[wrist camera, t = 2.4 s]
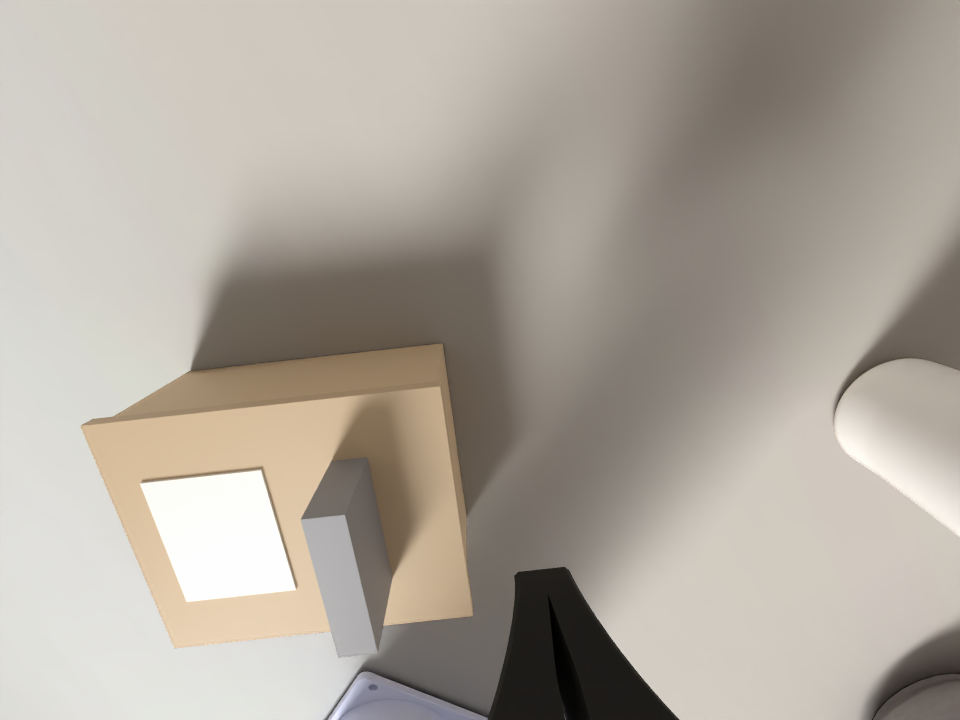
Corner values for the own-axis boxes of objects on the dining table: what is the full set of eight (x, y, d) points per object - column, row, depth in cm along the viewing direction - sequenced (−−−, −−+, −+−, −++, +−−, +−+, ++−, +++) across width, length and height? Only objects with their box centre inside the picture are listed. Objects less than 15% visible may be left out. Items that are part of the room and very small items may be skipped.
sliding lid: (440, 380, 15) (433, 430, 12) (473, 605, 18) (474, 695, 15) (92, 419, 15) (-14, 479, 12) (182, 636, 18) (117, 734, 15)
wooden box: (442, 343, 20) (436, 383, 15) (466, 517, 23) (467, 595, 18) (189, 371, 20) (107, 419, 15) (245, 541, 23) (190, 625, 18)
